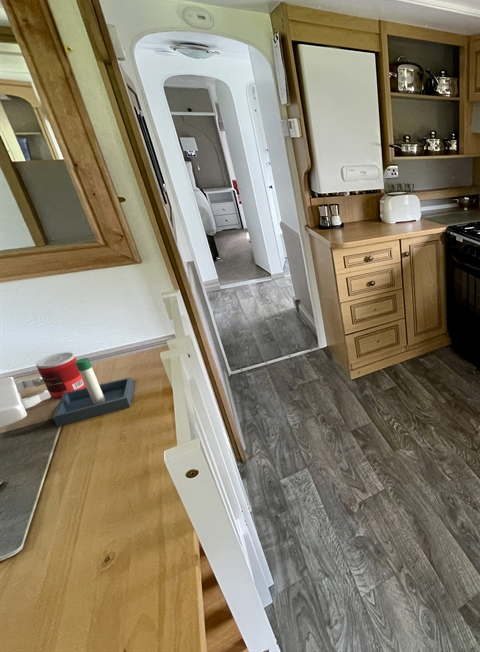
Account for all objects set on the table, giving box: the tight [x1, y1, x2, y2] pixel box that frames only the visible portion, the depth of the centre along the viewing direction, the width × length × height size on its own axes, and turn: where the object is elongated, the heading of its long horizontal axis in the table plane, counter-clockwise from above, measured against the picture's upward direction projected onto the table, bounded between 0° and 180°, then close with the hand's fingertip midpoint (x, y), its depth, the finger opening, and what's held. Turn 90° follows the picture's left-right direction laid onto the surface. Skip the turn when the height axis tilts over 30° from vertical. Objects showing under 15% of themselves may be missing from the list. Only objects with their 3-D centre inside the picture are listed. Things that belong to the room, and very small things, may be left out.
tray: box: [52, 376, 135, 427], centre depth 106 cm, size 15×13×3 cm
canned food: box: [35, 352, 86, 399], centre depth 110 cm, size 8×8×11 cm
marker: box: [75, 357, 105, 404], centre depth 104 cm, size 3×3×14 cm
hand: (46, 386), depth 97 cm, fingers open, 8 cm apart
